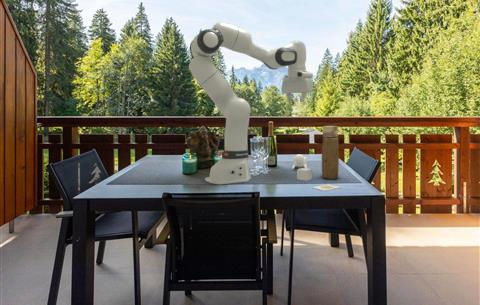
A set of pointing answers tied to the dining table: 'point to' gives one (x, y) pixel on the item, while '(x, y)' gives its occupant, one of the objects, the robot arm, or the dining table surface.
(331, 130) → the oak cube
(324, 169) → the block
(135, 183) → the dining table surface
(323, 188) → the card
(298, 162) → the white figurine
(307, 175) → the grey cube
